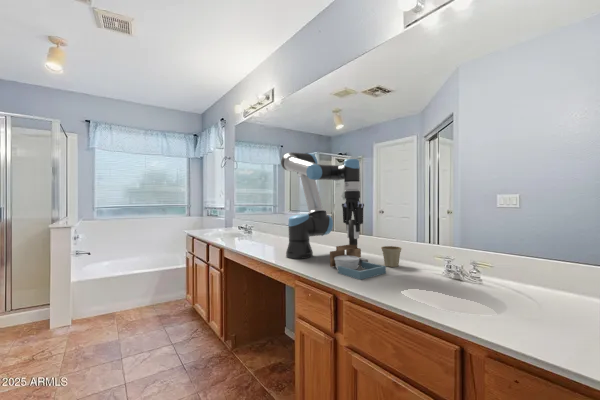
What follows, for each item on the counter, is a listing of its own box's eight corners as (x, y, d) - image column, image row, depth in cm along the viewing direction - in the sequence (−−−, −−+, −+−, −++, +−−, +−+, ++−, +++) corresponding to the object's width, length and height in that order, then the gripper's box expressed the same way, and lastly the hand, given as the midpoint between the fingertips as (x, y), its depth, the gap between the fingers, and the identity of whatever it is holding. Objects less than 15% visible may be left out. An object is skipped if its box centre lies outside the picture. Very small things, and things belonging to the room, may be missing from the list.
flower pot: (390, 262, 144) (390, 245, 144) (406, 266, 136) (406, 247, 136) (377, 265, 139) (376, 247, 139) (392, 269, 131) (392, 250, 131)
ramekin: (364, 269, 132) (364, 257, 132) (348, 273, 125) (348, 261, 125) (345, 265, 141) (345, 254, 141) (329, 269, 134) (329, 257, 134)
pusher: (327, 265, 138) (326, 221, 138) (352, 260, 148) (351, 219, 147) (335, 268, 133) (334, 222, 133) (361, 262, 143) (360, 220, 142)
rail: (336, 260, 152) (336, 254, 152) (340, 259, 154) (340, 253, 154) (363, 266, 137) (363, 260, 136) (368, 265, 138) (367, 259, 138)
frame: (338, 273, 126) (337, 266, 126) (363, 267, 135) (363, 261, 135) (359, 279, 116) (359, 272, 116) (385, 273, 124) (385, 266, 124)
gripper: (335, 191, 149) (336, 237, 149) (359, 190, 135) (360, 240, 135) (345, 191, 153) (346, 235, 153) (370, 190, 139) (371, 239, 139)
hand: (353, 237), depth 144 cm, fingers closed on pusher, 4 cm apart
